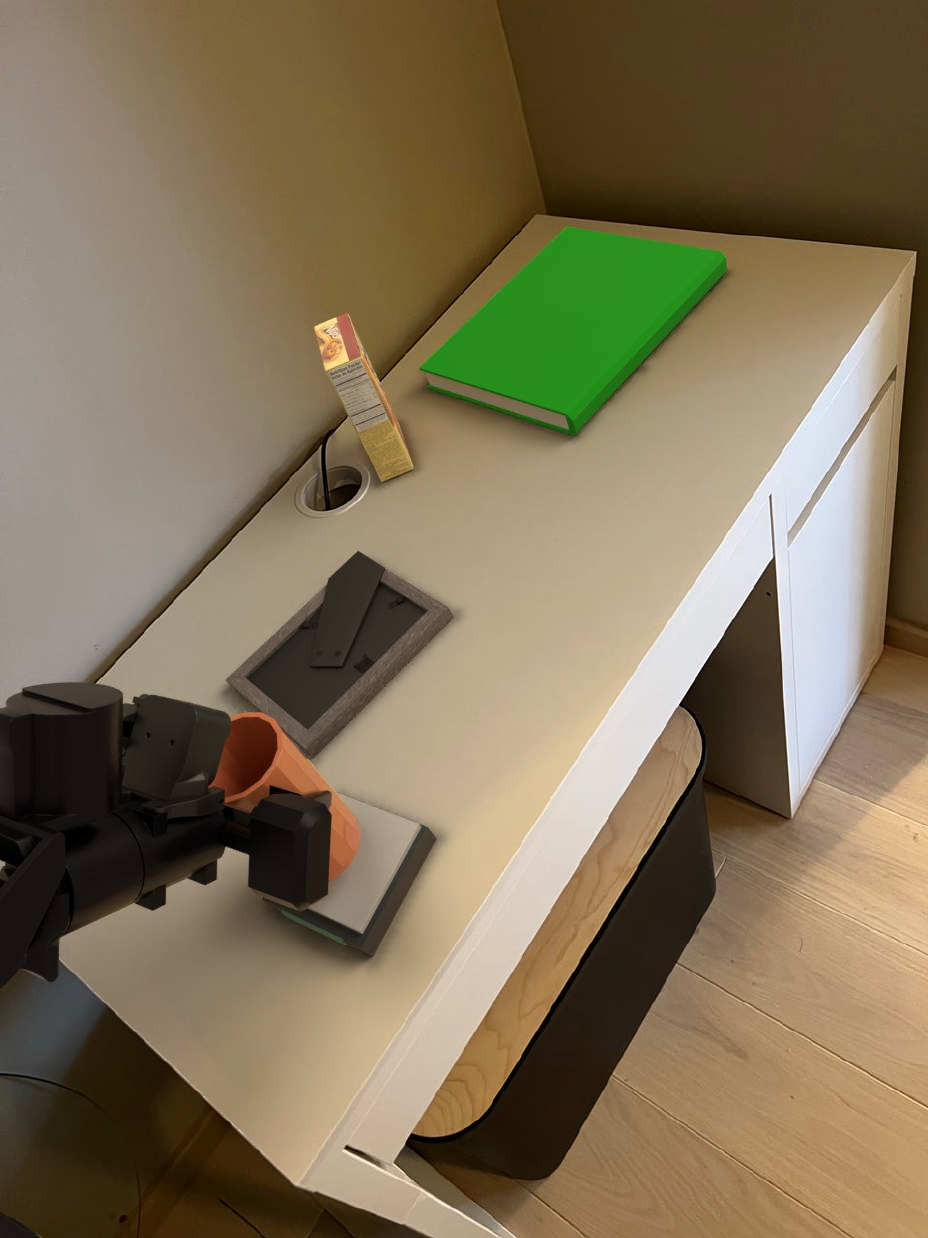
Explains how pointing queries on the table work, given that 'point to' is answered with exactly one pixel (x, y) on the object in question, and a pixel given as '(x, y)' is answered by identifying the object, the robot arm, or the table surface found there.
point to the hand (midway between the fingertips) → (289, 785)
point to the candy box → (362, 396)
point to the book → (572, 326)
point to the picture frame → (339, 651)
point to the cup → (280, 779)
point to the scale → (368, 880)
